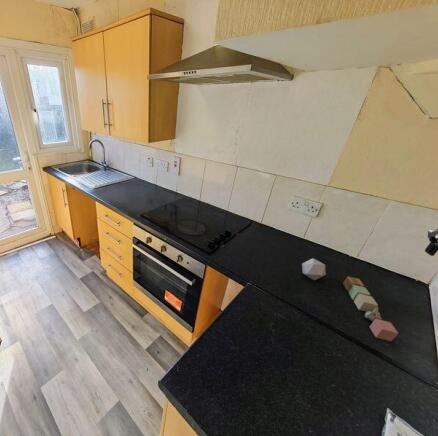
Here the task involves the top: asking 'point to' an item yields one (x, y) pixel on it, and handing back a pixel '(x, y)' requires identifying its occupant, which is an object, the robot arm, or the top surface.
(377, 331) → the block
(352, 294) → the block
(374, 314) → the figurine
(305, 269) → the die
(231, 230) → the top surface
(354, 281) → the block
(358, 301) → the block
